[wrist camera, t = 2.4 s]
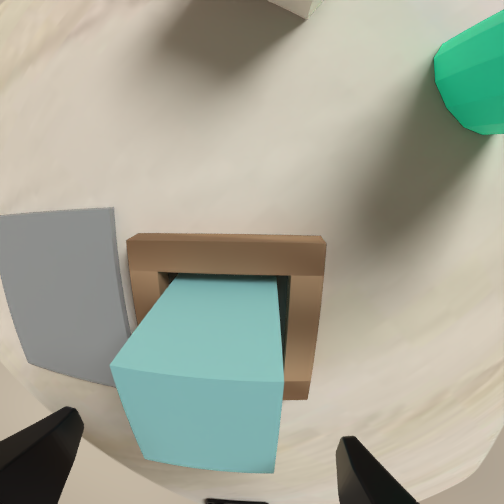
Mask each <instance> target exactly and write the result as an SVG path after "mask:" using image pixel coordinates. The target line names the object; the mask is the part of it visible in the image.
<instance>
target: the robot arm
mask: <svg viewBox="0 0 504 504" xmlns="http://www.w3.org/2000/svg"><path fill="white" fill-rule="evenodd" d="M83 430H84V423H83V421H82V419H81V417H80V415H79V413H78V411H77V410H76V409H75V408H72V407H68V406H66V407H64V408H62V409H60V410H58V411H57V412H55V413H53V414H51V415H49V416H47V417H46V418H44V419H42V420H40V421H38V422H36V423H35V424H33V425H31V426H29V427H27V428H25V429H23V430H21V431H19V432H17V433H16V434H14V435H12V436H10V437H8V438H6V439H4V440H2V441H0V504H58V501H59V498H60V495H61V493H62V490H63V488H64V485H65V483H66V480H67V478H68V475H69V473H70V470H71V467H72V465H73V462H74V460H75V457H76V453H77V450H78V447H79V443H80V440H81V437H82V433H83ZM336 466H337V481H338V495H339V501H340V504H419V503H418V502H416V500H415V499H414V498H413V497H412V496H411V495H410V494H409V493H408V492H407V491H406V490H405V489H404V488H403V487H402V486H401V485H400V484H399V483H398V482H397V481H396V479H395V478H394V477H393V476H392V475H391V474H390V473H389V472H388V471H387V470H386V469H385V468H384V467H383V466H382V465H381V464H380V463H379V462H378V461H377V460H376V459H375V457H374V456H373V455H372V454H371V453H370V452H369V451H368V450H367V449H366V448H365V447H364V446H363V445H362V443H361V442H360V441H359V440H358V439H357V438H356V437H355V436H344V437H342V438H341V439H340V442H339V445H338V448H337V450H336ZM206 504H268V503H257V502H236V501H223V500H213V499H207V500H206Z"/></svg>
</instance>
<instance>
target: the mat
mask: <svg viewBox="0 0 504 504" xmlns="http://www.w3.org/2000/svg"><path fill="white" fill-rule="evenodd" d="M0 275H1V279H2V284H3V288H4V292H5V295H6V299H7V303H8V306H9V310H10V313H11V316H12V320H13V323H14V326H15V329H16V332H17V335H18V337H19V340H20V343H21V346H22V348H23V351H24V354H25V356H26V359H27V361H28V363H30V364H33V365H36V366H39V367H42V368H45V369H48V370H51V371H54V372H57V373H61V374H64V375H68V376H71V377H75V378H79V379H82V380H86V381H90V382H94V383H98V384H103V385H107V386H112V387H116V385H115V381H114V378H113V375H112V372H111V369H110V364H111V362H112V361H113V359H114V358H115V357H116V355H117V354H118V353H119V351H120V350H121V348H122V347H123V346H124V344H125V343H126V342H127V340H128V339H129V338H130V336H131V333H130V328H129V323H128V318H127V313H126V307H125V301H124V295H123V289H122V282H121V275H120V268H119V260H118V251H117V242H116V231H115V219H114V207H112V208H92V209H74V210H59V211H45V212H33V213H21V214H10V215H0Z"/></svg>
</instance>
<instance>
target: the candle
mask: <svg viewBox="0 0 504 504" xmlns="http://www.w3.org/2000/svg"><path fill="white" fill-rule="evenodd" d="M434 72H435V83H436V85H437V87H438V90H439V92H440V94H441V96H442V99H443V101H444V103H445V106H446V108H447V109H448V110H449V111H450V112H451V113H452V115H453V116H454V117H455V118H456V119H457V120H458V121H459V122H460V124H461V125H462V126H463V127H464V128H466V129H469V130H471V131H474V132H476V133H479V134H481V135H489V134H504V10H502V11H500V12H498V13H496V14H494V15H492V16H491V17H489V18H487V19H485V20H483V21H481V22H480V23H478V24H476V25H474V26H472V27H471V28H469V29H467V30H465V31H464V32H462V33H460V34H458V35H457V36H455V37H453V38H452V39H450V40H448V41H447V42H445V43H443V44H442V46H441V47H440V49H439V51H438V52H437V54H436V55H435V57H434Z"/></svg>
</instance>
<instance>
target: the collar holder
mask: <svg viewBox="0 0 504 504" xmlns="http://www.w3.org/2000/svg"><path fill="white" fill-rule="evenodd" d="M126 244H127V253H128V262H129V271H130V279H131V286H132V293H133V299H134V306H135V312H136V318H137V323H138V326H139V324H140V323H141V322H142V320H143V319H144V318H145V316H146V315H147V314H148V312H149V311H150V310H151V308H152V307H153V306H154V304H155V303H156V302H157V300H158V299H159V298H160V297H161V295H162V294H163V293H164V291H165V290H166V289H167V288H168V286H169V279H168V272H179V273H208V274H243V275H288V288H287V305H286V321H285V335H284V349H283V371H284V389H283V399H282V400H307V399H308V393H309V387H310V381H311V375H312V369H313V362H314V355H315V348H316V341H317V333H318V325H319V317H320V308H321V299H322V290H323V279H324V269H325V257H326V242H325V241H324V240H323V239H322V237H321V236H302V235H257V234H177V233H138V234H136V235H135V236H133V237H131V238H129V239H128V240H126Z"/></svg>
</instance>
